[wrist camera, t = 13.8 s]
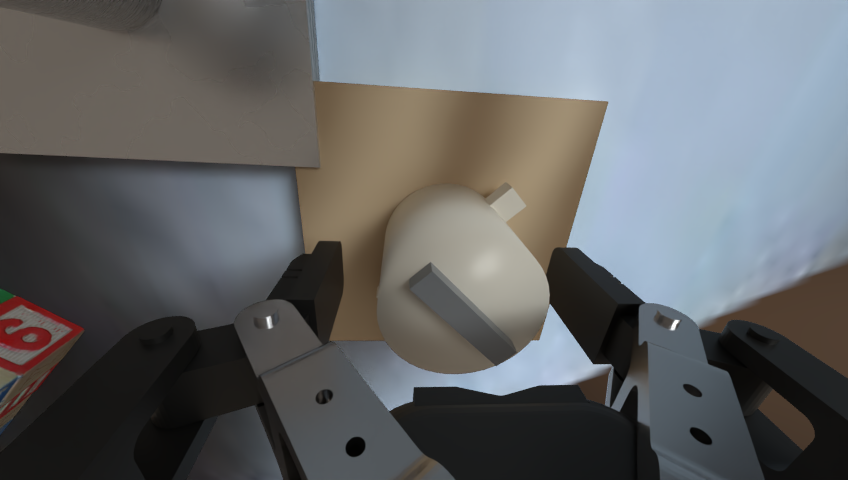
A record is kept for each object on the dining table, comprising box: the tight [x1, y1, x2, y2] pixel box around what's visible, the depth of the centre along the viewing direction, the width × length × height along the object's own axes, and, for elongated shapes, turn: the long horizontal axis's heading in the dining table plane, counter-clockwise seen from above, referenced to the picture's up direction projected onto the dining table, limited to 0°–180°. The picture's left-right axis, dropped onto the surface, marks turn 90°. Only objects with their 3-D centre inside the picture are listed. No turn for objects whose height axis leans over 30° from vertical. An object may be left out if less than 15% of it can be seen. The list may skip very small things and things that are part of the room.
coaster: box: [295, 81, 608, 341], centre depth 14 cm, size 12×12×1 cm
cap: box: [376, 182, 550, 374], centre depth 11 cm, size 5×7×6 cm
